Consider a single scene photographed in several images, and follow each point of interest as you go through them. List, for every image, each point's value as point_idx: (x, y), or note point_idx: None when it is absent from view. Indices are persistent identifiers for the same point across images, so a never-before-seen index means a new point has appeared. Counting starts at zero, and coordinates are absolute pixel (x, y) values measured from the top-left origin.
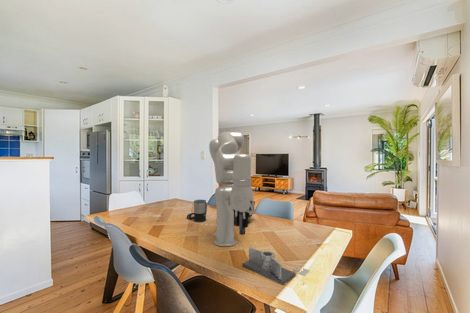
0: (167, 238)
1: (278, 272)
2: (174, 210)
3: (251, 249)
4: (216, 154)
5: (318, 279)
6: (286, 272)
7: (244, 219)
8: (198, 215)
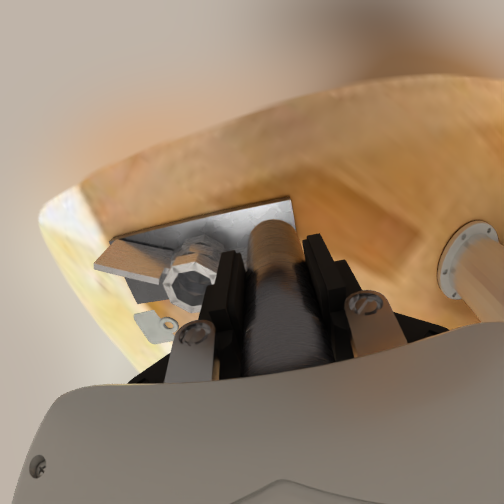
0: None
1: (115, 249)
2: None
3: None
4: None
5: (108, 325)
6: (149, 286)
7: (213, 324)
8: None
